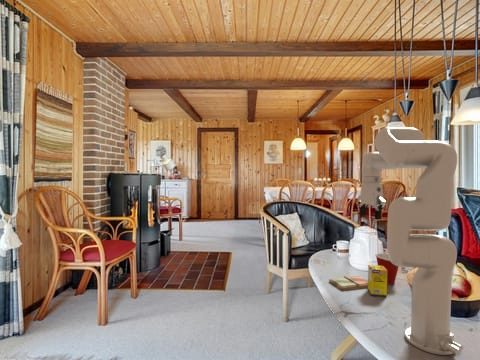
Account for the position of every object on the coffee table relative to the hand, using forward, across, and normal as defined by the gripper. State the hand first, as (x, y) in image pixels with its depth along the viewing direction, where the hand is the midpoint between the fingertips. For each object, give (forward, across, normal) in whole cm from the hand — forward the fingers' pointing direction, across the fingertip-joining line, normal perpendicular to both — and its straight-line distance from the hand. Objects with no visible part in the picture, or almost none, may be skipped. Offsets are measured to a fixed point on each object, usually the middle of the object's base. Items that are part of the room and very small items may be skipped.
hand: (370, 217), depth 131 cm
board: (+29, -3, +11) cm, 31 cm away
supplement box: (+29, -14, +7) cm, 33 cm away
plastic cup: (+29, -5, -7) cm, 30 cm away
